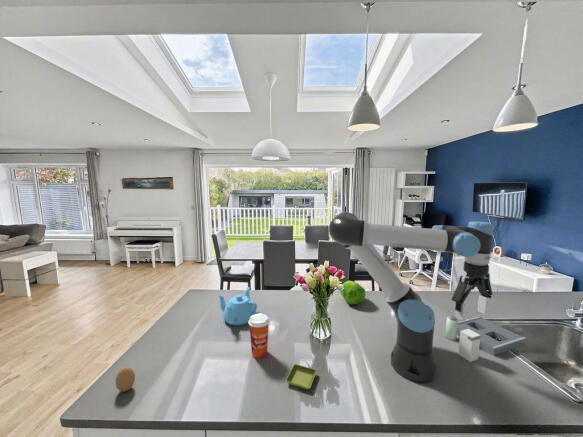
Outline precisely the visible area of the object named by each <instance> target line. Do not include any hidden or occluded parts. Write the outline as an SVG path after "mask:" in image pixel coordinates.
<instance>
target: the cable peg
mask: <svg viewBox="0 0 583 437" xmlns="http://www.w3.org/2000/svg"><path fill="white" fill-rule="evenodd" d="M445 322H446V323H445V336H444V337H445V339H447V340H449V341H456V340H457V336H458V335H457V324H458V322H459V319H457V318H455V315H454V316H453V315H448V316H447V317H446V321H445Z"/></svg>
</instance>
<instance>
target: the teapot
mask: <svg viewBox="0 0 583 437" xmlns="http://www.w3.org/2000/svg"><path fill="white" fill-rule="evenodd" d="M250 289H251V288H250V286H248V287H247V288H246V289H245V292H244V295H242V294H237V295H235V296H232V297H231V298H230V299H229V300H228V302H227V303H226V300H225V298H224V295H222V294H220V293H216V295H217V296H218V297H219V300H220V309H221V311H222V312H223V320H224V321H225V322H226V323H227V324H228V325H231V326H236V327H237V326H244V325H247V324H249V323H248V322H249V320H250V317H251V316H252V315H254V314H259V313H258V312H257V309H258V304H257V302H255V301H253V300H251V299H250V298H251V296H250Z"/></svg>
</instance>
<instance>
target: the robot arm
mask: <svg viewBox="0 0 583 437" xmlns="http://www.w3.org/2000/svg"><path fill="white" fill-rule="evenodd" d="M467 224H468V225H464V226H457V225H456V226H455V225H444V224H441V225H438V224H437V225H435V224H434V226H432V227H431V228H425V227H413V226H404V225H403V226H401V225H400V226H399V225H391V224H388V225H387V224H379V223H369V222H367V220H361V219H359V218H358V216H356V214H353V213H351V212H347V211H346V212H340V213H339V214H337V215H335V217H334V218H333V219H332V220H331V221H330V223H329V226H328V233H329V236H330V238H331V239H332V240H333V241H334V242H336V243H337V244H340V245H342V247H343V248H344V249H346V250H350V251H351V252H352V253H353V255H354V256H355V257H356V258H357V259H358V261H359V262H360V263H361V264H360V265H362V266H363V267H364V269H365V270H366V271H367V272H368V274H369V275H370V276H371V278H372V279H373V281H374V282H375V283H376V284H377V285H378V287H379V288H380V290H382V292H383V293H384V294H385V296H384V301H385V302H386V303H387V304H388V306H389V307H390V308H391V309H392V311H393V313H394V314H395V319H396V322H397V324H396V325H397V326H396V327H397V328H396V342H395V345H394V347H393V349H392V352H391V354H390V364H391V368H393V370H394V371H395V372H396V373H398V374H399V375H400V376H401V377H403V378H405V379H407V380H409V381H413V382H416V383H431V382H433V381H434V380H436V378H437V371H438V370H437V365H436V362H435V358H434V353H433V348H434V347H433V343H434V334H435V333H434V332H435V325H436V318H435V312H434V310H433V309H432V307H430V305H428V304H426V303H425V302H423V299H422V298H421V296H420V295H419V294H418V293H417V291H414V289H413V288H412V287H411V286H410V285H409V284H408V283H406V282H405V283H404V282H402V280H401V279H400V278H399V277H398V275H397V274H396V273H395V271H394V270H393V269H392V268H391V266H390V265H389V264H388V263H387V261H386V260H385V258H383V256H382V255H381V253H379V251H378V250H377V249H376V247H375V246H374V245H376V246H383V247H384V246H385V247H393V248H394V247H395V248H404V249H413V250H423V251H424V250H425V251H433V252H443V253H450V254H456V255H458V256H461V257H464V258H463V259H464V262H463V268H462V269H463V272H465V273H466V274H465V276H463V275H460V276H459V279H458V284H457V285H456V288H455V291H454V293H453V295H452V298H451V301H452V302H455V306H454V311H455V312H454V317H455V318H456V319H458V321H464V315H465V306H466V304H465V303H464V302H465V301H466V299H467V297H468V296H469V294H470V293H471V291H473V290H474V289H475V288H477V290H478V292H479V294H480V295H478V300H477V310H476V311H477V312H479V313H482V314H484V315H485V314H486V313H487V307H488V299H492V296H493V290H492V286H491V282H490V281H491V280H490V273H489V270H490V265H489V264H490V262H491V258H492V257H491V252H492V244H493V238H494V225H493V223H491V222H487V221H473V220H472V221H469V222H468V223H467Z"/></svg>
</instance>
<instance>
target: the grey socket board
mask: <svg viewBox="0 0 583 437" xmlns="http://www.w3.org/2000/svg"><path fill="white" fill-rule="evenodd" d="M466 329H470V330H472V331H474V332H475V333H477V334H479V335H480V336H481V338H480V345H479V349H481V350H483V351H484V352H485V353H488V354H489V355H491V356H494V357H495V356H497V355H501V354H503V353H506V352H509V351H511V350H510V349H512V350H515V349H518V348H521V347H524V346H526V342H527V341H526V340H527V337H526V336H521V335H519V334H517V333H515V332H514V331H510V330H509V329H506V328H505V327H502V326H500V325H498V324H497V323H496V324H495V323H494V322H492V321H490V320H487V319H485V318H483V317H482V316H476V317H473V318H472V317H471V318H469V319H465V320H464V319H463V320H462V321H461V320H459V321H458V324H457V335H456V336H459V337H460V331H462V330H466ZM492 337H495V338H497V339H498V340H497V339H495V338H492ZM499 339H500V340H501V341H502V342H501V341H499Z"/></svg>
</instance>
